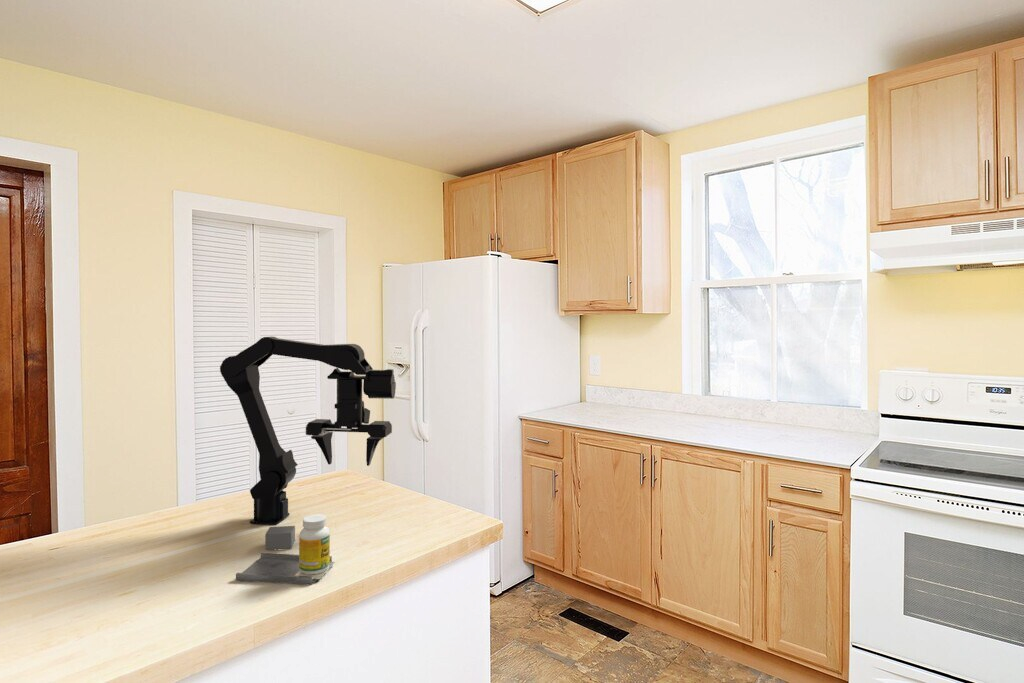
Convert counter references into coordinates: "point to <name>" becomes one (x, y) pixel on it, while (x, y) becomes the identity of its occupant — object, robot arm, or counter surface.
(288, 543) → the block
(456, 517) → the counter surface
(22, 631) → the counter surface
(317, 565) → the supplement bottle
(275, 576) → the grey flat tray
